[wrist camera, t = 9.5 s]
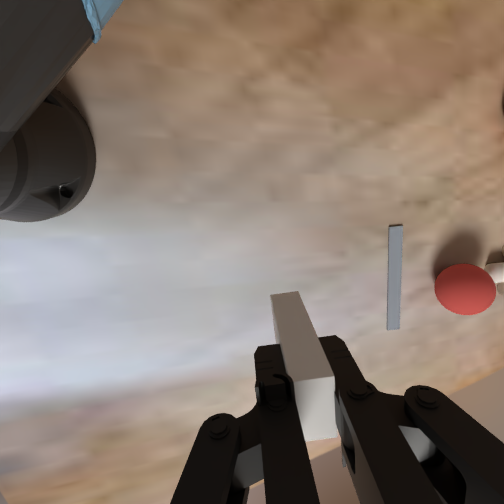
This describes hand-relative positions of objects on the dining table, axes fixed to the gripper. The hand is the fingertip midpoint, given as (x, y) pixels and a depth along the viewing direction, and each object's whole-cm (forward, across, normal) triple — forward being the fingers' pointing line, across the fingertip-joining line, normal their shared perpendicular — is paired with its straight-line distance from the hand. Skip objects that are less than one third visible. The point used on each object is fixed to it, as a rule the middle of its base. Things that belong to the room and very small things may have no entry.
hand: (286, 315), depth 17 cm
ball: (+18, +23, -10) cm, 31 cm away
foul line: (+21, +16, -9) cm, 28 cm away
